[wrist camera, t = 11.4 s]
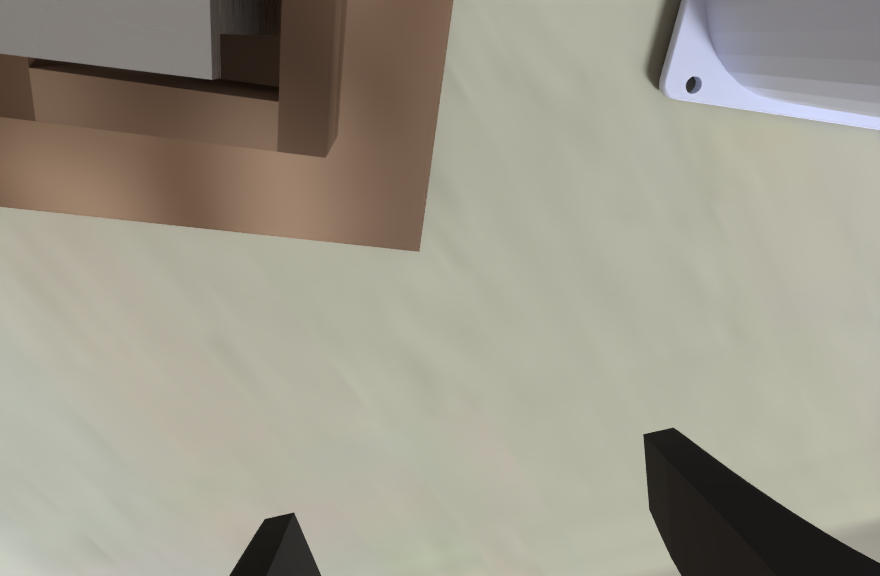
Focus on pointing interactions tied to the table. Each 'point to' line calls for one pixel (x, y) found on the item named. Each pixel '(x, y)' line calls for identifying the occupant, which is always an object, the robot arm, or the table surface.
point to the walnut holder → (244, 129)
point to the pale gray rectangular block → (132, 32)
